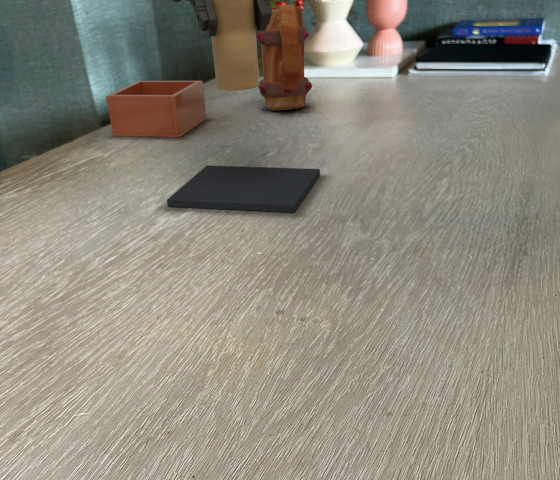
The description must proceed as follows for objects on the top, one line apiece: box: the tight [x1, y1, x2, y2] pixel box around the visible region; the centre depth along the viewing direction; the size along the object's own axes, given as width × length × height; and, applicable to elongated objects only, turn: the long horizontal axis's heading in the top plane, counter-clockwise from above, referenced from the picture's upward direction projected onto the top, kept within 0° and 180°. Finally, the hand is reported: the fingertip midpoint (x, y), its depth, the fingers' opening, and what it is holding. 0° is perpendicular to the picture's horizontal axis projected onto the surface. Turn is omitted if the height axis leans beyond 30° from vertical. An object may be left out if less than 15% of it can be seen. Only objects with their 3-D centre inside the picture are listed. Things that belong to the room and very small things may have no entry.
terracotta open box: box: [105, 80, 207, 138], centre depth 99 cm, size 11×11×6 cm
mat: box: [166, 165, 321, 214], centre depth 74 cm, size 14×12×1 cm
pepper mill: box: [210, 0, 260, 92], centre depth 65 cm, size 4×4×11 cm
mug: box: [256, 4, 313, 111], centre depth 100 cm, size 15×8×15 cm, turn 6°
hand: (238, 27), depth 64 cm, fingers closed on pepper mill, 4 cm apart
